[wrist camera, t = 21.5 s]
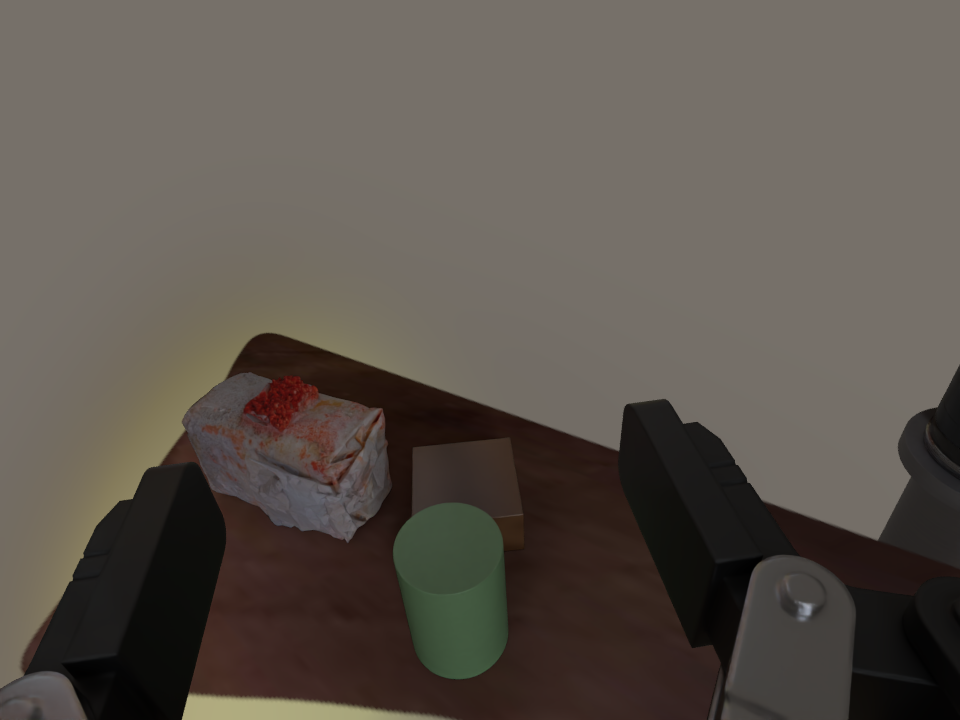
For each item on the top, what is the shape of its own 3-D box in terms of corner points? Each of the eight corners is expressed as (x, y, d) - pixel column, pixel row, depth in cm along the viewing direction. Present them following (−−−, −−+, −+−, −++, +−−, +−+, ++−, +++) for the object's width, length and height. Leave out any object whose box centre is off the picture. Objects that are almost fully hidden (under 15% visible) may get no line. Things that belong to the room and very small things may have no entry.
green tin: (453, 572, 38) (441, 486, 34) (527, 620, 35) (524, 533, 31) (392, 641, 35) (369, 556, 30) (468, 701, 32) (455, 617, 27)
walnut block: (511, 471, 45) (510, 437, 43) (524, 549, 39) (523, 514, 37) (418, 481, 45) (412, 447, 43) (418, 560, 39) (411, 526, 37)
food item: (414, 481, 45) (395, 376, 39) (356, 567, 39) (323, 460, 33) (269, 438, 50) (233, 339, 44) (198, 509, 44) (146, 406, 38)
